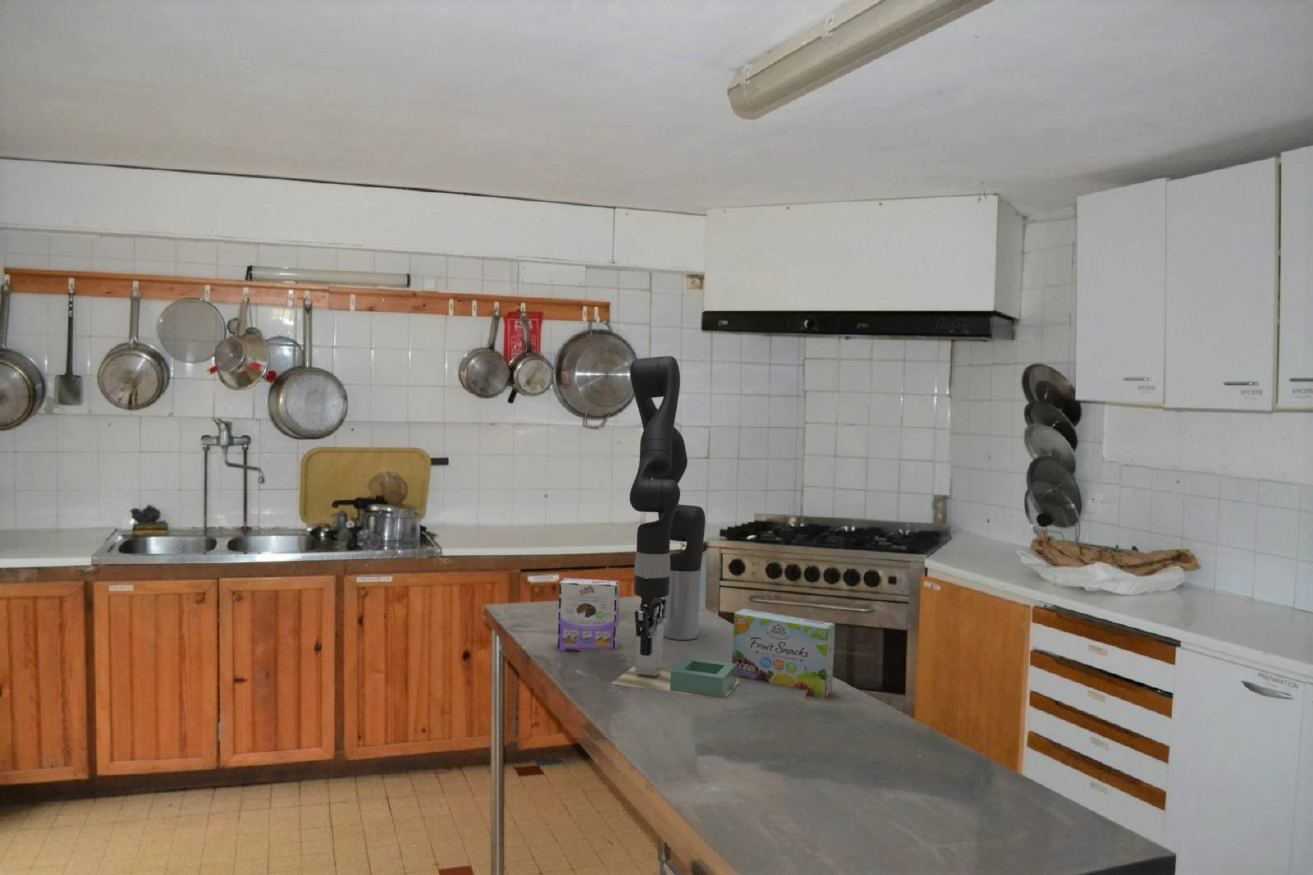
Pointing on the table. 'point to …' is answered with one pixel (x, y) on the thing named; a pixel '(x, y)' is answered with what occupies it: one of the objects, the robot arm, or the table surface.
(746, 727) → the table surface
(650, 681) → the board
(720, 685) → the teal hollow square frame
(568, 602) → the candy box
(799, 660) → the snack box
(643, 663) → the stepped grey pillar
